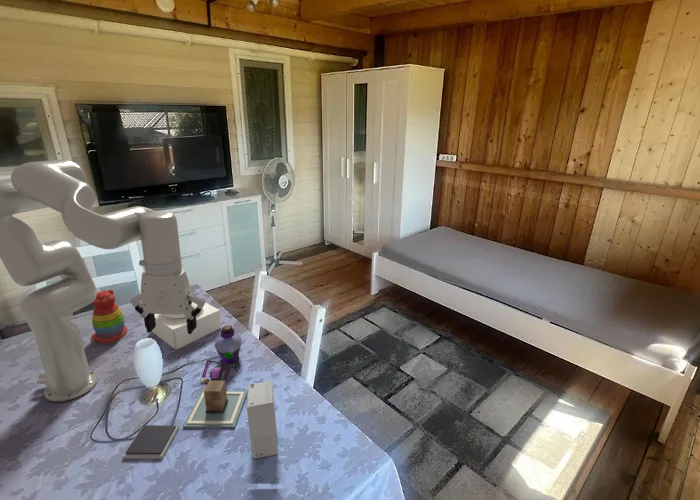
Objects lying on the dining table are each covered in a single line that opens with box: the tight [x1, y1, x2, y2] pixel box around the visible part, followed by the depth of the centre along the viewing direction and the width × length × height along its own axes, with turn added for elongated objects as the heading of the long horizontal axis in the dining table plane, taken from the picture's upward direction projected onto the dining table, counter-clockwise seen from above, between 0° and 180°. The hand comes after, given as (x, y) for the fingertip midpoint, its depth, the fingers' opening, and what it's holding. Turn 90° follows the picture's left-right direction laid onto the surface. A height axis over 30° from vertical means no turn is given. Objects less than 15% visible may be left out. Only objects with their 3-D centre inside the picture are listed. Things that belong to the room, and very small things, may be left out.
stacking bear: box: [91, 289, 128, 344], centre depth 129 cm, size 11×10×18 cm
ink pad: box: [122, 424, 180, 460], centre depth 89 cm, size 9×9×1 cm
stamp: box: [203, 379, 228, 413], centre depth 98 cm, size 4×4×7 cm
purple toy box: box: [200, 359, 232, 385], centre depth 111 cm, size 7×5×9 cm
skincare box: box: [246, 380, 278, 459], centre depth 87 cm, size 8×6×15 cm
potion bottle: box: [214, 325, 242, 364], centre depth 118 cm, size 9×9×12 cm
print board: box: [182, 390, 248, 429], centre depth 99 cm, size 13×13×1 cm
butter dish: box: [150, 302, 222, 351], centre depth 133 cm, size 18×18×16 cm
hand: (171, 330), depth 90 cm, fingers open, 9 cm apart
